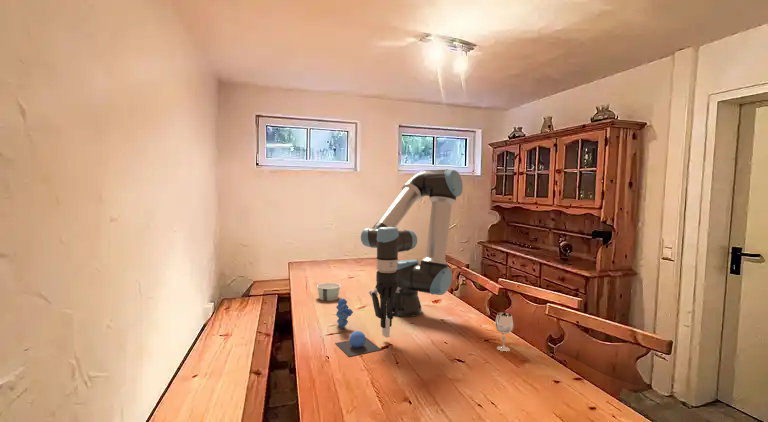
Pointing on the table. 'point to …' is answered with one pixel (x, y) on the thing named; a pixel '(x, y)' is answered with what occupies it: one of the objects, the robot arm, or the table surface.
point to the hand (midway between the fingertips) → (385, 335)
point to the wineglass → (504, 327)
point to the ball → (357, 339)
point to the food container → (328, 291)
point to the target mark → (353, 351)
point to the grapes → (343, 313)
